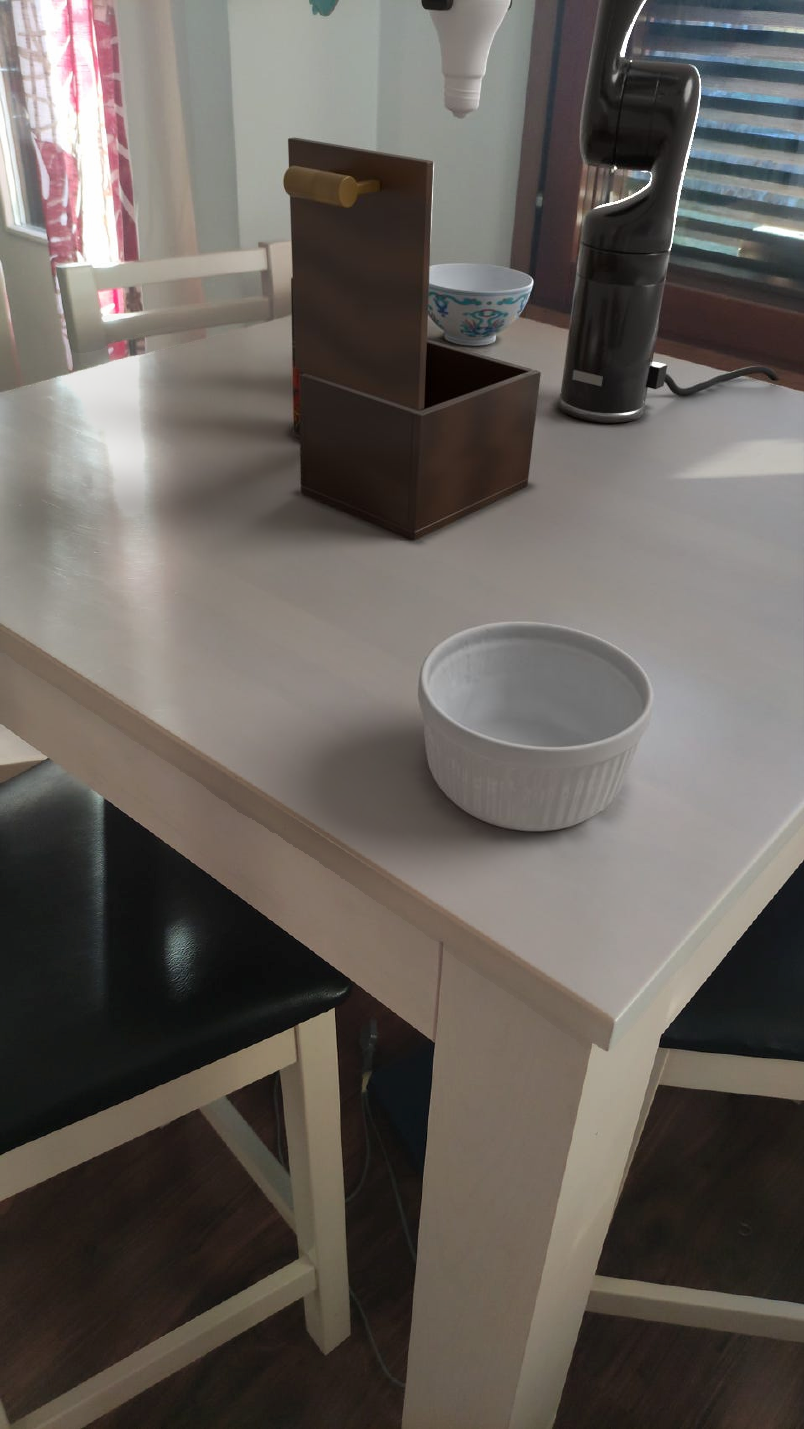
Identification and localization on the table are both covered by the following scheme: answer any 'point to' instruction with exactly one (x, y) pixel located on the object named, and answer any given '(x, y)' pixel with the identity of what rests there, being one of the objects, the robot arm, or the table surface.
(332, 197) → the lid
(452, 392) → the chest
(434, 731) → the ramekin
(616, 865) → the table surface
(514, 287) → the chinaware
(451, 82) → the lightbulb
